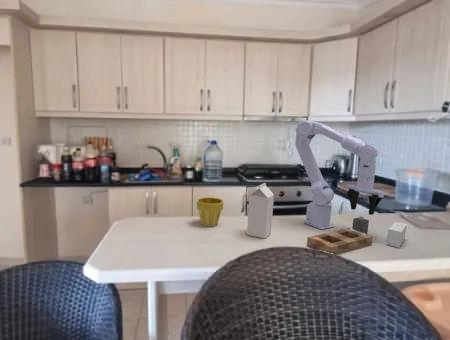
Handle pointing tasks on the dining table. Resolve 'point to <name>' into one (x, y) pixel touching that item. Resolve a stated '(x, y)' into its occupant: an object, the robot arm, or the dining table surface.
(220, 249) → the dining table surface
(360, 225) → the plug
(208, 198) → the plant pot
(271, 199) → the milk carton
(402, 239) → the skincare box
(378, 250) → the dining table surface
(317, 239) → the brown flat rectangular frame
